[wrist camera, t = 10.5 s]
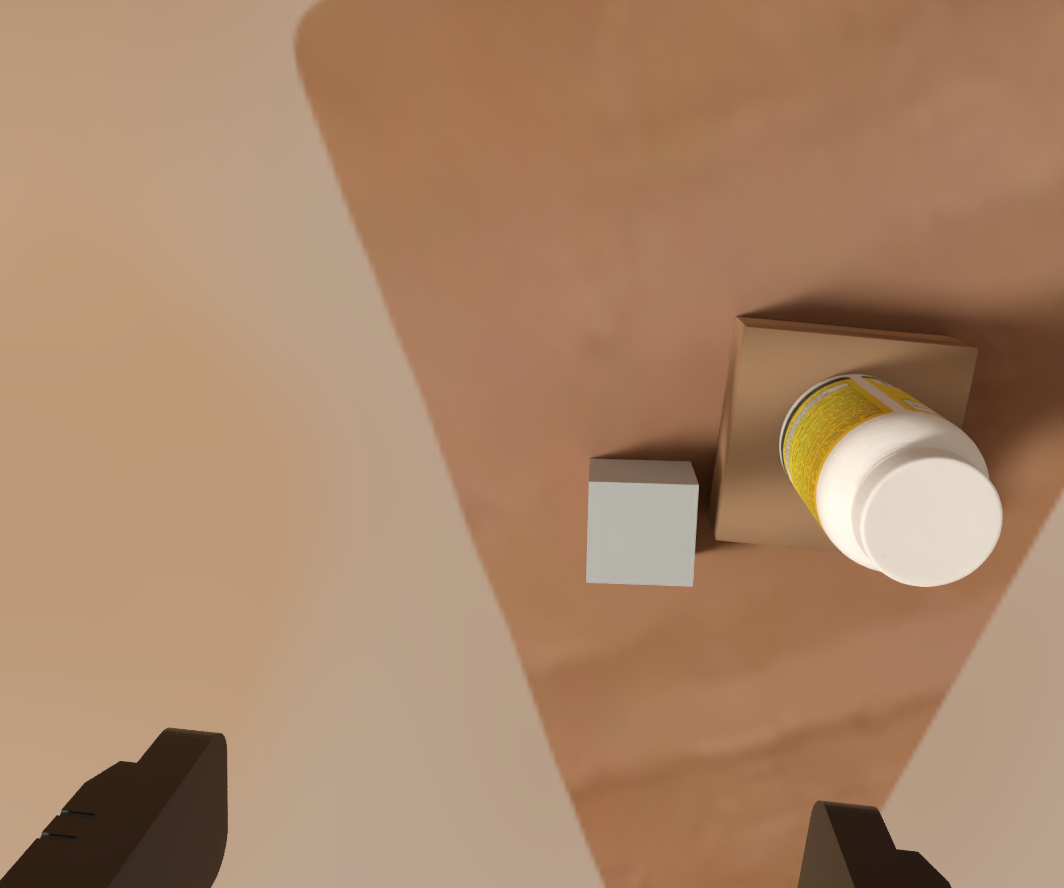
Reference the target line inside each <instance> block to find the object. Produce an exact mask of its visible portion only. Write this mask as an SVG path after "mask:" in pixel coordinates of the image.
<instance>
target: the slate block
mask: <svg viewBox="0 0 1064 888" xmlns="http://www.w3.org/2000/svg"><path fill="white" fill-rule="evenodd" d="M698 492H699V484H698V481H697V478H696V475H695V472H694V469H693V466H692V464H691V461H659V460H626V459H593V458H590V464H589V500H588V535H587V571H586V583H612V584H639V585H666V586H693V575H694V558H695V542H696V525H697V509H698Z"/></svg>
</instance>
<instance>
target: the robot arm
mask: <svg viewBox="0 0 1064 888" xmlns="http://www.w3.org/2000/svg"><path fill="white" fill-rule="evenodd" d="M227 808H228V804H227V744H226V740H225V737H224V735H223V734H222V733H213V732H204V731H195V730H186V729H176V728H167V729H165V730H164V731H163V732H162V733H161V734H160V735H159V736H158V737H157V739H156V740H155V741H154V742H153V744H152V745H151V746H150V748H149V749H148V750H147V751H146V752H145V754H144V755H143V756H142V757H141V759H140V760H139V761H138V762H137V763H133V762H124V761H120V762H118V763H117V764H115V765H113V766H111V767H110V768H108V769H106V770H105V771H103V772H102V773H100V774H98V775H97V776H95V777H94V778H92V779H90V780H89V781H87V782H85V783H84V784H83V786H82V787H81V788H80V789H79V790H78V791H77V792H76V794H75V795H74V796H73V797H72V798H71V800H70V801H69V802H68V803H67V804H66V805H65V806H64V808H63V809H62V810H61V814H60V816H58V815H57V816H56V817H55V818H54V819H53V820H52V821H51V823H50V824H49V825H48V826H47V827H46V828H45V829H44V831H43V832H42V836H41V838H40V839H39V838H37V839H36V840H35V841H34V842H33V843H32V844H31V846H30V847H29V848H28V849H27V850H26V851H25V852H24V854H23V855H22V856H21V857H20V858H19V859H18V861H17V862H16V863H15V864H14V865H13V866H12V868H11V869H10V870H9V871H8V872H7V873H6V874H5V876H4V877H3V878H2V879H1V880H0V888H211V886H212V885H213V883H214V881H215V879H216V877H217V875H218V872H219V869H220V866H221V864H222V860H223V856H224V852H225V847H226V841H227V833H228V832H227V831H228V809H227ZM798 888H951V886H950V884H949V882H948V881H947V880H946V879H945V878H944V877H943V876H942V875H941V874H940V873H939V872H938V871H937V870H936V869H935V868H934V867H933V866H932V865H931V864H930V863H929V862H928V861H927V860H926V859H925V858H924V857H923V856H922V855H921V854H920V853H919V852H915V851H906V850H897V849H896V848H895V845H894V843H893V841H892V839H891V836H890V834H889V832H888V830H887V827H886V825H885V823H884V821H883V819H882V816H881V814H880V812H879V811H878V809H877V808H876V807H873V806H864V805H855V804H846V803H837V802H828V801H817V802H816V803H815V805H814V807H813V810H812V813H811V818H810V823H809V829H808V834H807V840H806V845H805V851H804V856H803V862H802V867H801V872H800V878H799V883H798Z"/></svg>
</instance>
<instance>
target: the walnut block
mask: <svg viewBox="0 0 1064 888" xmlns="http://www.w3.org/2000/svg"><path fill="white" fill-rule="evenodd" d="M978 351H979V348H977V347H975V346H972V345H970V344H968V343H965V342H963V341H960V340H958V339H956V338H953V337H951V336H943V335H933V334H922V333H911V332H900V331H889V330H878V329H867V328H857V327H846V326H835V325H824V324H813V323H802V322H792V321H781V320H770V319H759V318H748V317H737V316H736V319H735V326H734V333H733V340H732V347H731V354H730V361H729V368H728V375H727V382H726V389H725V396H724V403H723V410H722V417H721V424H720V431H719V438H718V445H717V453H716V460H715V467H714V474H713V481H712V488H711V495H710V502H709V509H708V517H709V520H710V523H711V526H712V529H713V532H714V535H715V539H716V540H721V541H730V542H740V543H750V544H760V545H769V546H779V547H789V548H798V549H808V550H818V551H828V552H837V553H842V552H841V551H840V550H839V549H838V548H837V547H836V546H835V545H834V544H833V543H832V541H831V540H830V539H829V537H828V536H827V535H826V533H825V532H824V530H823V529H822V527H821V526H820V524H819V523H818V521H817V520H816V519H815V517H814V516H813V514H812V513H811V511H810V510H809V508H808V507H807V505H806V504H805V503H804V501H803V500H802V498H801V497H800V495H799V494H798V492H797V491H796V490H795V488H794V487H793V485H792V484H791V482H790V481H789V479H788V477H787V475H786V473H785V470H784V468H783V465H782V462H781V458H780V451H779V442H780V433H781V429H782V426H783V423H784V420H785V418H786V416H787V414H788V412H789V410H790V409H791V407H792V406H793V404H794V403H795V402H796V401H797V400H798V398H799V397H800V396H801V395H802V394H803V393H805V392H806V391H807V390H808V389H810V388H811V387H812V386H814V385H816V384H817V383H819V382H822V381H824V380H826V379H829V378H832V377H836V376H840V375H848V374H862V375H869V376H873V377H877V378H879V379H882V380H884V381H886V382H888V383H890V384H892V385H894V386H896V387H897V388H899V389H901V390H902V391H904V392H905V393H907V394H908V395H910V396H912V397H913V398H915V399H916V400H918V401H919V402H921V403H923V404H924V405H926V406H927V407H929V408H930V409H931V410H933V411H935V412H936V413H938V414H939V415H941V416H942V417H944V418H945V419H947V420H948V421H950V422H951V423H953V424H954V425H956V426H957V427H958V428H959V429H961V430H962V426H963V422H964V417H965V412H966V408H967V403H968V398H969V394H970V389H971V384H972V379H973V375H974V370H975V365H976V361H977V356H978Z"/></svg>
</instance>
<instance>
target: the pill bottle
mask: <svg viewBox="0 0 1064 888" xmlns="http://www.w3.org/2000/svg"><path fill="white" fill-rule="evenodd" d="M779 451H780V458H781V462H782V465H783V468H784V470H785V473H786V475H787V477H788V479H789V481H790V482H791V484H792V485H793V487H794V488H795V490H796V491H797V492H798V494H799V495H800V497H801V498H802V500H803V501H804V503H805V504H806V505H807V507H808V508H809V510H810V511H811V513H812V514H813V516H814V517H815V519H816V520H817V521H818V523H819V524H820V526H821V527H822V529H823V530H824V532H825V533H826V535H827V536H828V537H829V539H830V540H831V541H832V543H833V544H834V545H835V546H836V547H837V548H838V549H839V550H840V551H841V552H842V553H843V554H845V555H846V556H847V557H849V558H850V559H851V560H853V561H855V562H856V563H858V564H860V565H862V566H865V567H867V568H870V569H873V570H877V571H881V572H883V573H884V574H885V575H887V576H889V577H890V578H892V579H894V580H896V581H898V582H901V583H904V584H908V585H913V586H922V587H929V586H939V585H944V584H948V583H951V582H954V581H956V580H959V579H961V578H963V577H965V576H967V575H968V574H970V573H971V572H973V571H974V570H976V569H977V568H978V567H979V566H980V565H981V564H982V563H983V562H984V561H985V560H986V559H987V558H988V556H989V555H990V554H991V552H992V551H993V549H994V547H995V545H996V543H997V541H998V539H999V536H1000V533H1001V528H1002V522H1003V511H1002V505H1001V501H1000V497H999V495H998V492H997V490H996V488H995V487H994V485H993V484H992V482H991V481H990V479H989V474H988V469H987V466H986V463H985V461H984V458H983V456H982V455H981V453H980V451H979V449H978V448H977V446H976V445H975V443H974V442H973V441H972V440H971V439H970V438H969V437H968V436H967V435H966V434H965V433H964V432H963V431H962V430H961V429H959V428H958V427H957V426H956V425H954V424H953V423H951V422H950V421H948V420H947V419H945V418H944V417H942V416H941V415H939V414H938V413H936V412H935V411H933V410H931V409H930V408H929V407H927V406H926V405H924V404H923V403H921V402H919V401H918V400H916V399H915V398H913V397H912V396H910V395H908V394H907V393H905V392H904V391H902V390H901V389H899V388H897V387H896V386H894V385H892V384H890V383H888V382H886V381H884V380H882V379H879V378H877V377H873V376H869V375H862V374H848V375H840V376H836V377H832V378H829V379H826V380H824V381H822V382H819V383H817V384H816V385H814V386H812V387H811V388H810V389H808V390H807V391H806V392H805V393H803V394H802V395H801V396H800V397H799V398H798V400H797V401H796V402H795V403H794V404H793V406H792V407H791V409H790V410H789V412H788V414H787V416H786V418H785V420H784V423H783V426H782V429H781V433H780V442H779Z"/></svg>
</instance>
